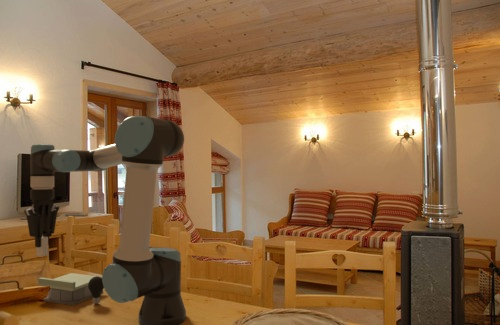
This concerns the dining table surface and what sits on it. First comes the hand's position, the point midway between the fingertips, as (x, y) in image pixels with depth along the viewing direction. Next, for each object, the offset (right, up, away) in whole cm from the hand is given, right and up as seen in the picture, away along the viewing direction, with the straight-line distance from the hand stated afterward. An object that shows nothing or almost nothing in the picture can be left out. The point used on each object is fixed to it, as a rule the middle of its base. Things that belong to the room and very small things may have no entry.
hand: (42, 255), depth 144 cm
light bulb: (+17, -19, +4) cm, 26 cm away
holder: (+5, -19, +13) cm, 23 cm away
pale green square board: (+5, -13, +13) cm, 19 cm away
